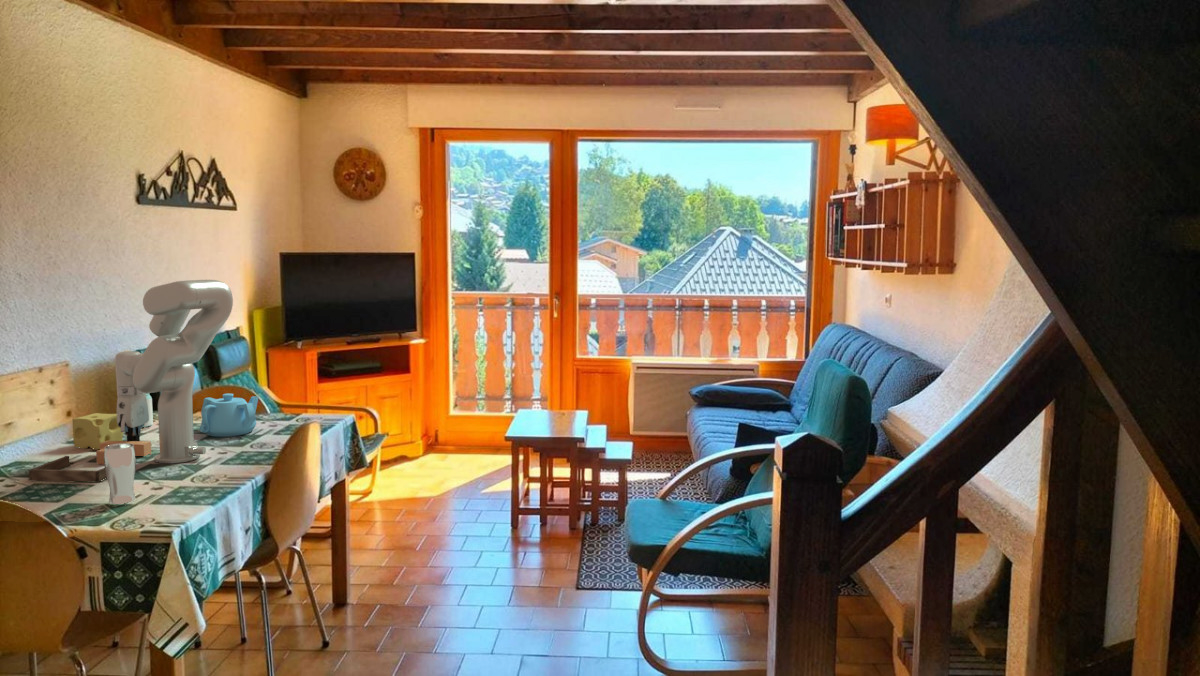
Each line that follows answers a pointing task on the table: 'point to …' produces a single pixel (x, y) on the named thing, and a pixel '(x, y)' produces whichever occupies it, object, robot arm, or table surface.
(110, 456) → the beer glass
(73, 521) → the table surface
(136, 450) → the t block
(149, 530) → the table surface
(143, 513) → the table surface
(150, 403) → the can
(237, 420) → the teapot
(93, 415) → the cheese
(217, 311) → the robot arm
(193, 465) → the table surface
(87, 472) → the brown wooden rack
